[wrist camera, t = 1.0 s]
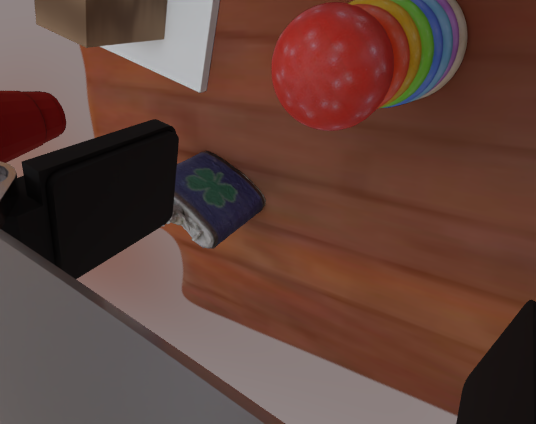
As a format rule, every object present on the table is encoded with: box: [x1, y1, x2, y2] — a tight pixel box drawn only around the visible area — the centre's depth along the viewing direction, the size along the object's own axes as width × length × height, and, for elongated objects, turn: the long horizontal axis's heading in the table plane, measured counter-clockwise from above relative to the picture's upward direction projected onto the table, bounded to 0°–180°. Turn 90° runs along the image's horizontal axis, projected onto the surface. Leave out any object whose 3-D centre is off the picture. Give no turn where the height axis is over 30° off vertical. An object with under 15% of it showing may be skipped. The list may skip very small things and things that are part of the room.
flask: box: [163, 151, 266, 248], centre depth 40 cm, size 9×3×11 cm, turn 61°
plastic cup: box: [0, 91, 66, 163], centre depth 50 cm, size 11×11×12 cm
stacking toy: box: [272, 0, 467, 131], centre depth 23 cm, size 8×8×19 cm
